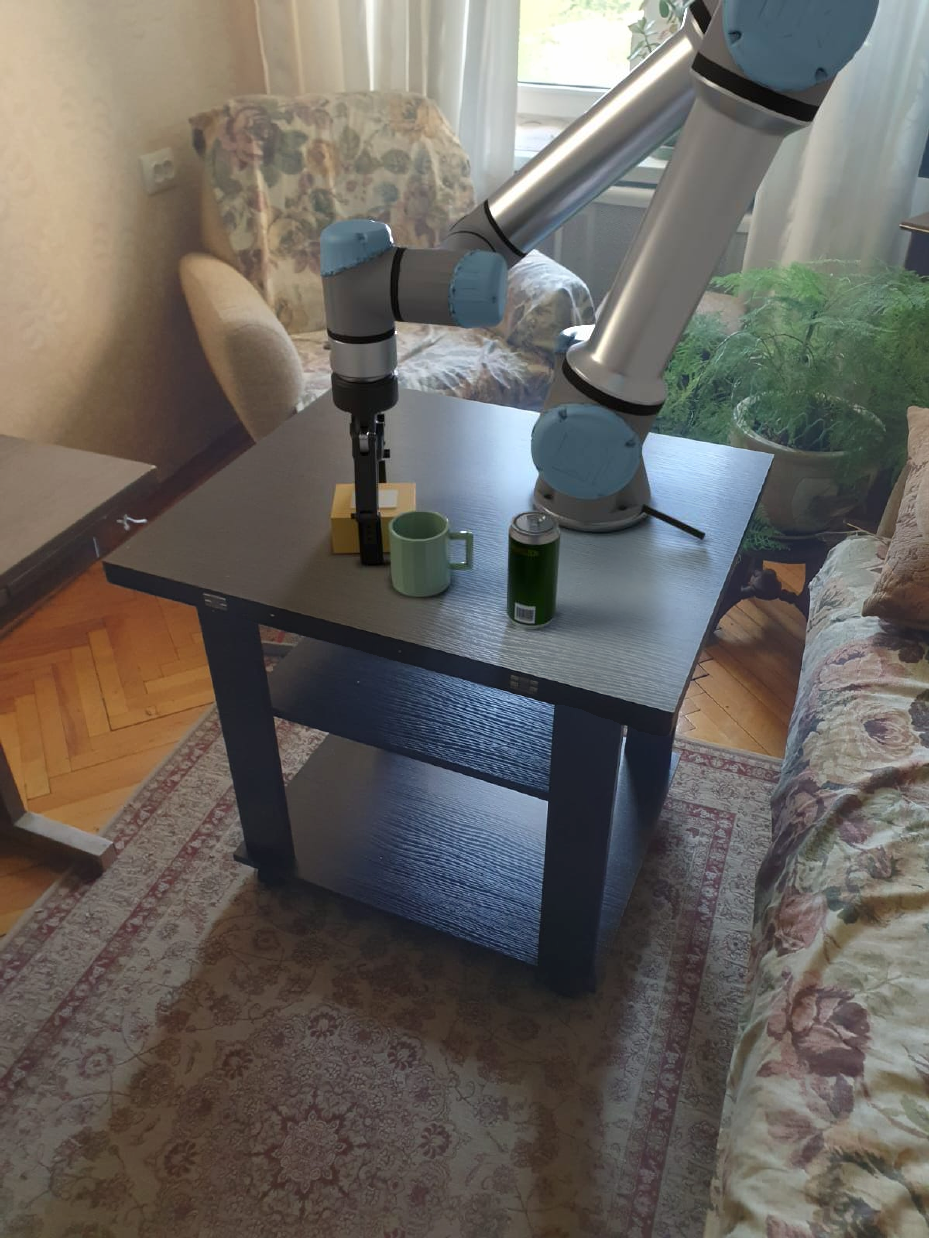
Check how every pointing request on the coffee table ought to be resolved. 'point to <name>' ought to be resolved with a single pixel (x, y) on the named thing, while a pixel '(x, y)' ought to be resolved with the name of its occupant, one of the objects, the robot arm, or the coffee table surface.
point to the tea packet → (390, 505)
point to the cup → (424, 552)
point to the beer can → (532, 569)
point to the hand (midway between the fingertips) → (375, 533)
